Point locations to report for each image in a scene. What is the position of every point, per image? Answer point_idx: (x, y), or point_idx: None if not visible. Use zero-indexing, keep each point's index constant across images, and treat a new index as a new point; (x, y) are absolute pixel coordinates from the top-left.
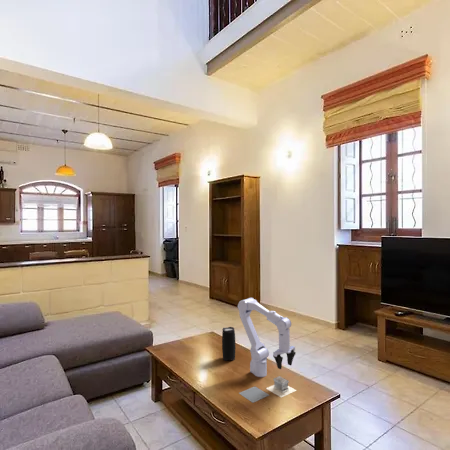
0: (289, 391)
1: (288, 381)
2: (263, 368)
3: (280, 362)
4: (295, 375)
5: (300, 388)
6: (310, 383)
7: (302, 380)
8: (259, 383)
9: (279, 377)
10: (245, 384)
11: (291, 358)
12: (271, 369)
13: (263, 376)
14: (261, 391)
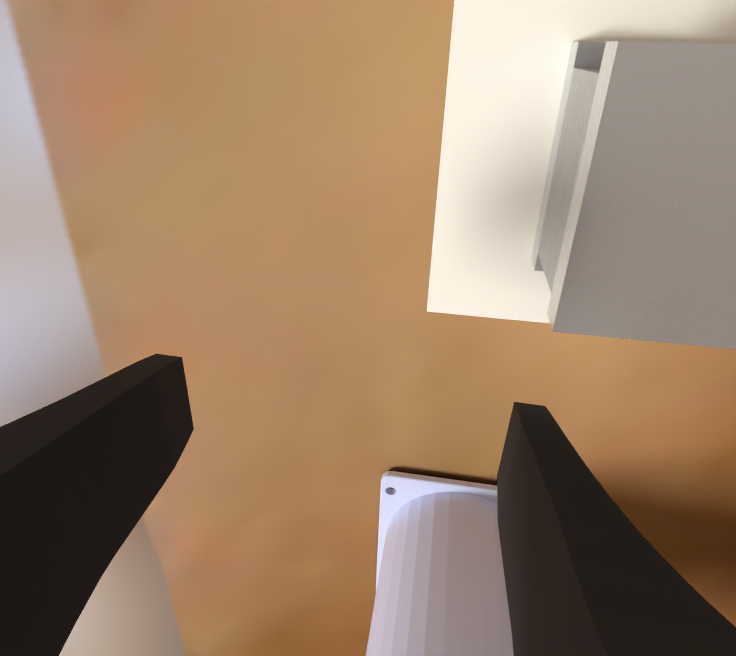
0: (591, 8)
1: (619, 41)
2: (484, 606)
3: (660, 571)
4: (114, 311)
5: (287, 27)
6: (57, 29)
7: (111, 172)
8: (596, 470)
9: (609, 296)
10: (724, 549)
11: (31, 469)
12: (256, 532)
13: (484, 514)
14: None
